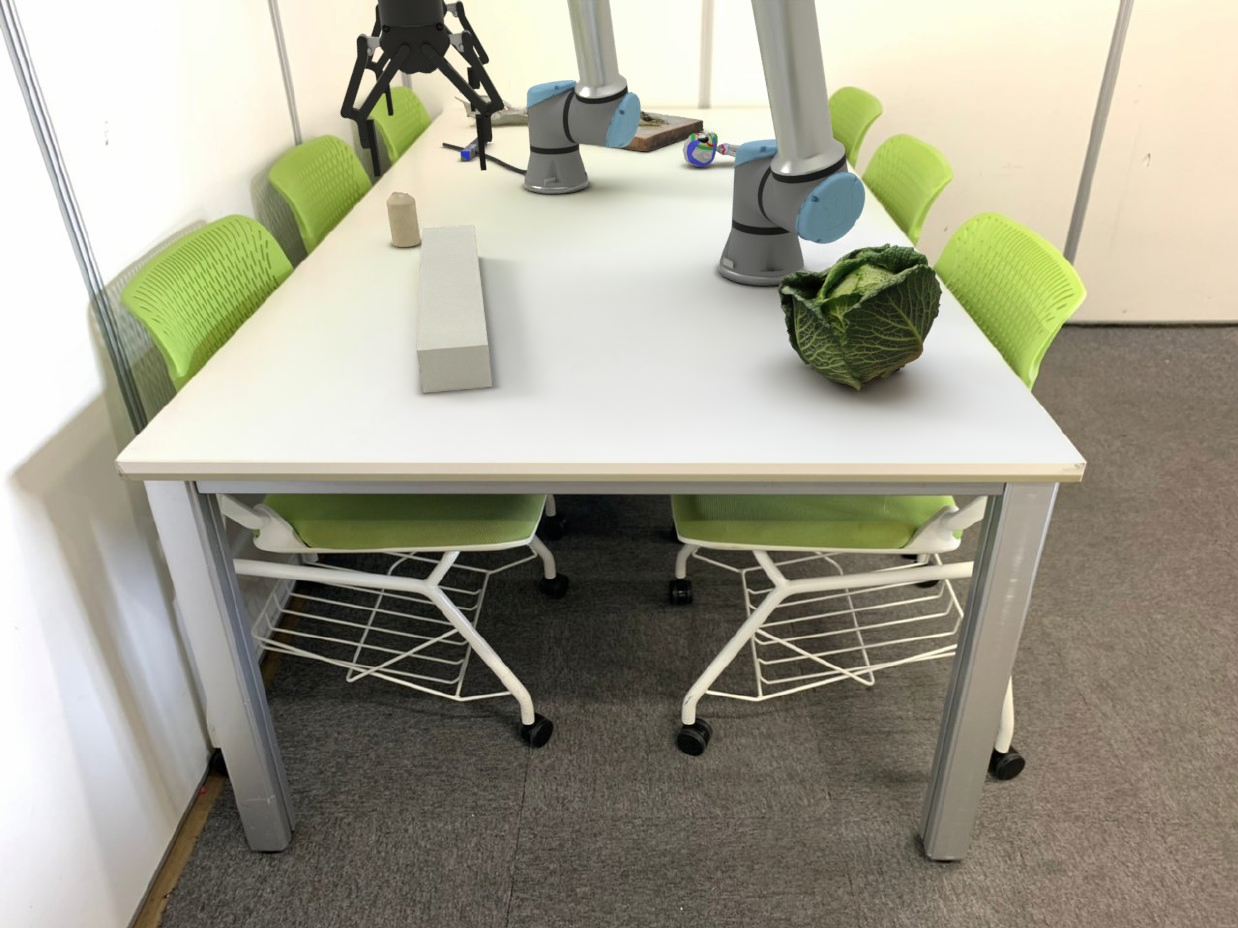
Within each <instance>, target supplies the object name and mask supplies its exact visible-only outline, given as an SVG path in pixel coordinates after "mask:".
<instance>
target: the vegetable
mask: <svg viewBox="0 0 1238 928" xmlns="http://www.w3.org/2000/svg"><path fill="white" fill-rule="evenodd" d="M936 275H937V272H936V270H935V268H934V267H931V266H930V265H929V261H928V257H927V256H926V254H923V253H921V252H918V251H916V250H915V247H914V246H900V245H897V244H894V245H892V246H891V243H888V242H887V243H885V244H883V245H882V246H865V247H861V248H856V249H853V250H852V251H850V252H848V253H847V254H845V255H843V256H841V257H840V258H838V260H837V261H836V262H835V263H834V264H832V266H831V267H828V268H826V269H824V270H822V271H810V270H806V271H805V270H804V271H796V272H793V273H790V274H789V275H786V276H784V277H783V278H782V280H781V281H782V283H781V284H780V285H778V288H777V293H778V296H779V299H780V309H781V310H782V312H783V313H784V314H785V316H784V323H785V326H786V329H787V330H786V332H787V334H788V341H789V344H790V345H791V347H792V349H793V350H794V351H795V352H796V354H797V355H798V357H799V358H800V359H801V361H802V362H803V363H804V364H805V365H810V366H811V367H812V368H813V369H814V371H816V372H817V373H818V374H819V375H821V376H822V377H824V378H825V379H828V380H829V381H830V382H835V383H839V384H842V385H843V384H844V385H849V386H850V387H852V388H854V389H855V390H856V391H857V392H859V391H860V390H861V388H863V387H866V386H865V383H868V382H870V381H871V380H872V379H873V378H875V377H879V378H882V379H888V378H889V377H890V375H891V374H892V373H893V372H899V371H900V370H901V369H902V368H905V366H906V365H908V364H910V363H912V362H914V361H916V360H918V359H920V357H921V355H922V354H923V353H924V343H925V340H926V338H927V336H928V335H929V333H930V331H931V329H932V327H933V325H934V321H935V319H936V318H938V316H939V313H940V309H939V308H940V307H941V306H942V305H941V303H940V301H941V297H942V294H943V290H942V288H941V284H940V283H941V282H940V281H939V280H938V279H937V277H936Z"/></svg>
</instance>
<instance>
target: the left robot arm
mask: <svg viewBox="0 0 1238 928" xmlns="http://www.w3.org/2000/svg"><path fill="white" fill-rule="evenodd" d="M566 3H567V8H568V15H569V20H570V21H569V22H570V27H571V33H572V40H573V45H574V46H573V47H574V52H575V58H576V64H577V71H578V78H579V80H578V81H576V80H575V79H574V80H573V79H566V80H565V79H564V80H555V81H549V82H544V83H539V84H535V85H532V86H531V87H530V88H529V89H528V90H527V92H526V106H527V107H526V106H525V107H526V109H527V114H528V123H527V127H528V140H529V141H528V142H529V157H528V162H527V168H526V169H521V168H519V167H516V166H514V165H512V164H509V163H506V162H504V161H503V160H501V159H499V158H497V157H495V156H492V155H490V154H487V153H485V158H486V159H488V160H490V161H493V162H495V163H497V164H499V165H501V166H502V167H504V168H506V169H509V170H511V171H513V172H516V173H520V174H524V180H523V183H524V188H525V189H526V190H527V191H530V192H531V193H535V194H536V193H537V194H543V195H544V194H545V195H562V194H570V193H576V192H579V191H583V190H584V189H586V188H587V187H589V175H588V173H587V171H586V168H585V164H584V161H583V158H582V156H581V153H580V145H587V146H595V147H605V148H607V149H612V148H620V149H623V148H622V147H625V146H627V145H628V144H629V143H630V142H631V141H632V139H633V138H634V136H635V134H636V131H637V128H638V125H639V121H640V113H641V110H642V107H641V100H640V98H639V96H638V95H637V94H636V93H634V92H632V91H630V92H629V88H628V81H627V78H626V77H624V76H623V75H622V74H620V72H619V71H620V70H619V63H618V56H617V48H616V41H615V32H614V25H613V18H612V10H611V2H610V0H566ZM442 6H443V15H444V18H445V17H446V16H447V14H448V12H449V13H451V15H452V17H453V18H455V19H456V18H458V21H459V23H460V25H461V27H462V29H463V30H468V31H469V32H470V34H471V38H472V43H473V48H474V50H475V52H476V54H477V56H478V58H479V59H480V61H481V63H482V65H483V66H484V65H488V64H489V62H490V58H489V55H488V53H487V52H486V50H485V48H484V46H483V45H482V43H481V41H480V39H479V37H478V36H477V33H476V32H475V30H474V28H473V26H472V24H471V23H470V21H469V19H468V18H467V16H466V11H465V7H464V6H465V5H464V3H463V1H462V0H456V2H450V3H446V2H445V0H442ZM374 9H375V21H374V25H373V27H372V28H373V29H372V31H371V35H370V36H371V37H381V33H382V28H381V20H380V13H379V6H378V3H377V4H376V5H375V8H374ZM445 29H446V32H447V33H448V35H450V34H454V33H453V32H452V31H451V30H450V28H449V27H448V26H447V25H446V24H445ZM450 46H452V47H453V49H454V50H455V51H456V52H457V53H458V54H459V55H460V56H461V57H462V59H464V60H465V61H466V63H467V64H468V65H469V66H467V67H466V74H467V83H468V84H469V85H470V86H471V87H472V88H473V89H474V90H480V89H481V82H480V81H479V79H478V77H477V75H476V74H475V72H474V70H473V68H472V67H471V65H470V63H469V61H468V59H467V57H466V55H465V52H460V51H458V49H457V47H456V46H455V45H453V44H450ZM375 53H376V51H375V52H374V54H373V55H372V56H368V61H367V64H366V67H365V70H369V71H372V72H373V73H374V75H375V83H376V82H377V81H378V79H379V78H380V76H381V74H382V73H383V71H384V69H385V68H386V66H387V65H388V63H389V61H390V59H389V57H388V56H387V55H386V54H385V53H384V52H383V51H382V53H381V55H380V56H379V58H378V60H377V61H374V60H373V59H374V56H375ZM390 83H391V82H390ZM390 83H389V85H388V86H387V88H386V90H385V91H384V93H383V94H385V101H386V109H387V115H388V117H393V116H394V113H395V112H394V104H393V97H392V91H391V84H390ZM383 94H382V95H383ZM469 103H470V102H469ZM470 105H471V112H476V108H475V107H474V106H473V105H472V104H471V103H470ZM441 145H442V146H443V147H445V148H449V149H453V150H458V151H460V152H461V151H462V150H463V149H464V148H465V147H463V146H459V145H455V144H450V143H447V142H442V144H441ZM475 154H476V155H475V156H479V152H478V151H475Z"/></svg>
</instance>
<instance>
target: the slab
mask: <svg viewBox="0 0 1238 928" xmlns="http://www.w3.org/2000/svg"><path fill="white" fill-rule="evenodd" d="M419 268H420V271H419V293H418V311H417V312H418V314H417V315H418V316H417V334H416V335H417V336H416V337H417V338H416V356H417V363H418V367H419V376H420V383H421V389H422V393H423V394H429V393H440V392H450V391H461V390H463V391H464V390H472V389H474V390H475V389H484V388H485V389H486V388H492V387H493V380H492V378H493V377H492V370H491V369H492V368H491V359H490V351H489V350H490V349H489V341H488V333H487V323H486V314H485V305H484V297H483V296H484V295H483V288H482V280H481V271H480V260H479V253H478V243H477V235H476V227H475V224H460V225H459V224H458V225H446V226H445V225H444V226H430V227H428V226H427V227H422V228H421V247H420V267H419Z"/></svg>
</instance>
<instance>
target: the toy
mask: <svg viewBox="0 0 1238 928" xmlns="http://www.w3.org/2000/svg"><path fill="white" fill-rule="evenodd" d="M699 136H704V137H699ZM718 138H719V136H718V135H717V133H716V132H713V131H711V132H709V131H707V133H703V132H698V133H693V134H691V135H690V136H689V137H688V138H686V140H685V142H684V144H683V147H682V154H683V158H684V161H686V163H687V164H689V165H691V166H694V167H699V168H700V167H701V168H704V167H706V166H709V165H711V164H712V162H713V161H714V160H715V158H716V154H717V153H718V154H720V155H721V156H730V157H734V158H735V156H736V151H737V149H738V147H739V146H740V145H741V144H740V145H739V144H738V145H737V144H731V143H727V142H723V143H721V144H719V145H718V143H719V140H718Z"/></svg>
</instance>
